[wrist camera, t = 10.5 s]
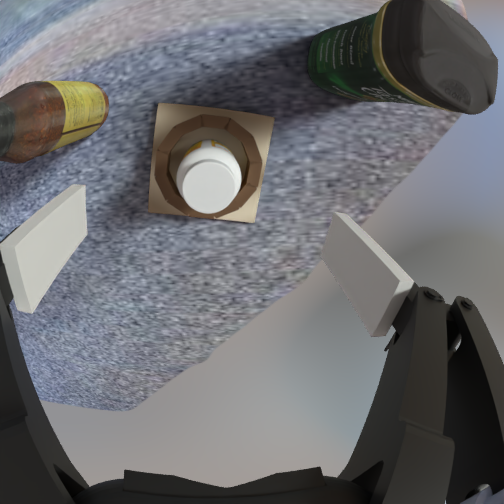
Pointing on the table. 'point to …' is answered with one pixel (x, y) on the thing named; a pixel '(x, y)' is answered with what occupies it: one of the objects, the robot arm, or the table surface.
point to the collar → (201, 128)
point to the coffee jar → (407, 58)
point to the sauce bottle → (48, 117)
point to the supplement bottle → (208, 176)
